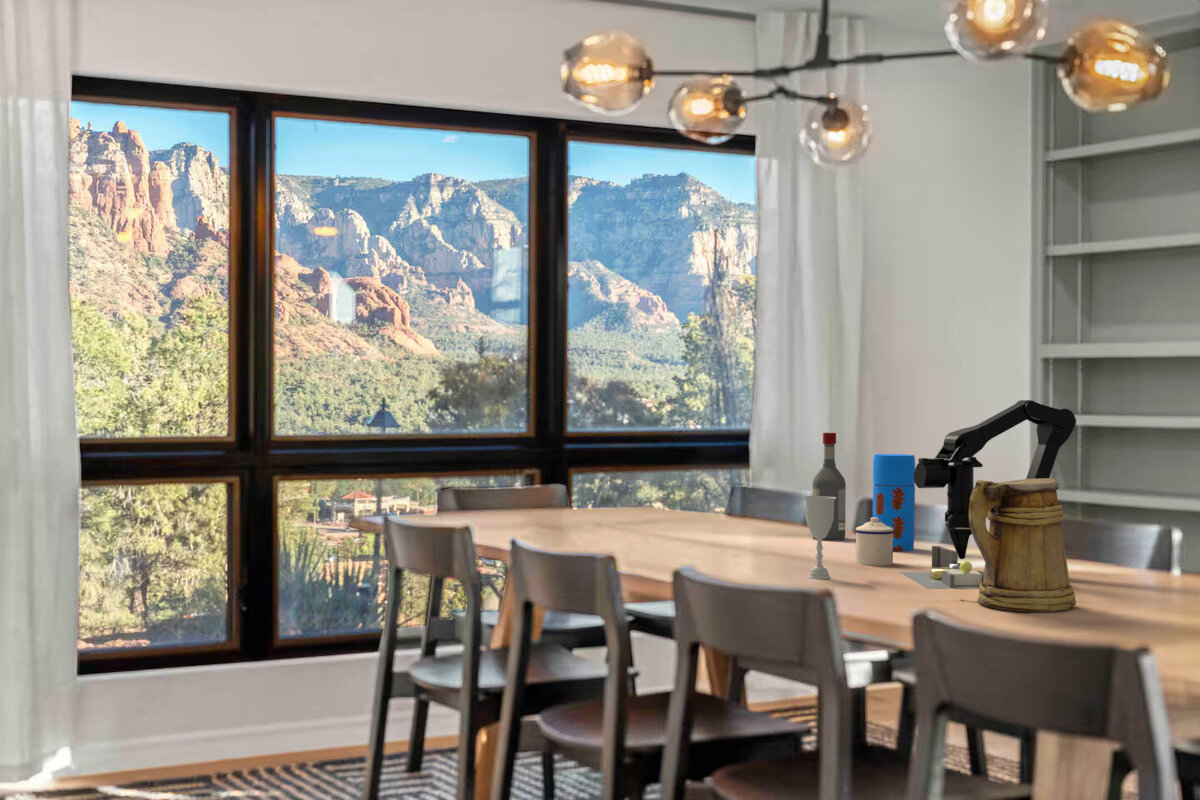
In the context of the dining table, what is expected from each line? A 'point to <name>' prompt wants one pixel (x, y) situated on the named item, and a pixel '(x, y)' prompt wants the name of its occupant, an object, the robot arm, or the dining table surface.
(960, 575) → the cam foot
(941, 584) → the level stand
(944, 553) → the cam capstan
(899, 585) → the dining table surface
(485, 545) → the dining table surface
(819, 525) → the chalice
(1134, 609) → the dining table surface
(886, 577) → the dining table surface
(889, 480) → the thermos
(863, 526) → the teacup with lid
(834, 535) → the liquor
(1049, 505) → the tankard
